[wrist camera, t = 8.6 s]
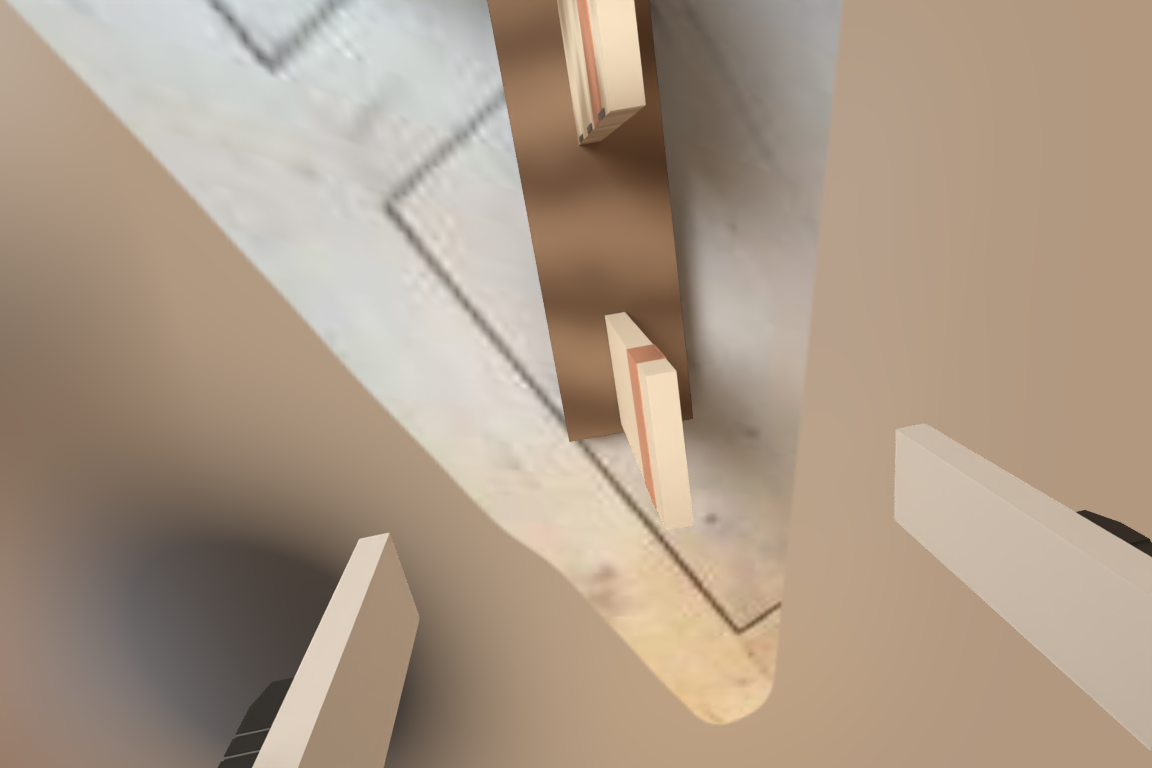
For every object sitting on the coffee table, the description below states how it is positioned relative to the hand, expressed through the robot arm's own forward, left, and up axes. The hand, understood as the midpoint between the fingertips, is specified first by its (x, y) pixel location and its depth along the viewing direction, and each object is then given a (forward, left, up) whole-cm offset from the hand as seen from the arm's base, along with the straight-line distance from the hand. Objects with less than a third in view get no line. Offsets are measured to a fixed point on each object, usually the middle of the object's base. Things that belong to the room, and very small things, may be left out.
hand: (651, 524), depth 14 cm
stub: (+2, +2, -20) cm, 20 cm away
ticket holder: (-10, +2, -22) cm, 24 cm away
